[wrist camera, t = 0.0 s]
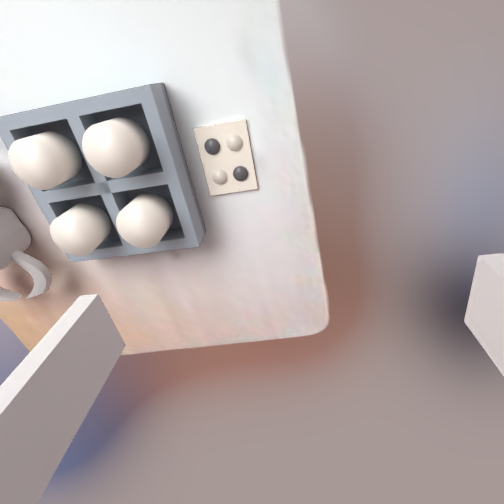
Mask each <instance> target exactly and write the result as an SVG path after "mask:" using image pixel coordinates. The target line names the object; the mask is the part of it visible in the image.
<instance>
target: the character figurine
mask: <svg viewBox="0 0 504 504" xmlns="http://www.w3.org/2000/svg"><path fill="white" fill-rule="evenodd" d="M30 244H31V236H30V233H29V231H28V230H27V228H26V227H25V226H24V225H23V224H22V223H21V222H20V220H19V219H18V217H17V216H16V214H15V213H14V212H13V210H11V209H9V208H6V207H1V206H0V270H1V269H3V268H5V267H6V266H8V265H10V264H11V263H13V262H15V263H17V264H18V265H19V266H21V267H22V268H23V269H24V270H26V271H27V272H28V273H29V274H30V275H31V277H32V278H33V280H34V287H33V289H32V291H31V293H30V294H29V295H28V297H27V298H31V297H34V296H37V295H39V294H42V293H44V292H45V291H47V290H48V289H49V286H50V284H51V281H52V273H51V272H50V270H49V268H48V267H47V266H46V265H44V264H43V263H42V262H41V261H39V260H37V259H35V258H33V257H31V256H29V255H27V254H25V253H23V252H24V251H25V250H26V249H27V248H28V247H29V246H30ZM21 296H22V294H21V293H17V292H13V291H10V290H7V289H4V288H1V287H0V301H15V300H17V299H19V298H20V297H21ZM27 298H26V299H27Z"/></svg>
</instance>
